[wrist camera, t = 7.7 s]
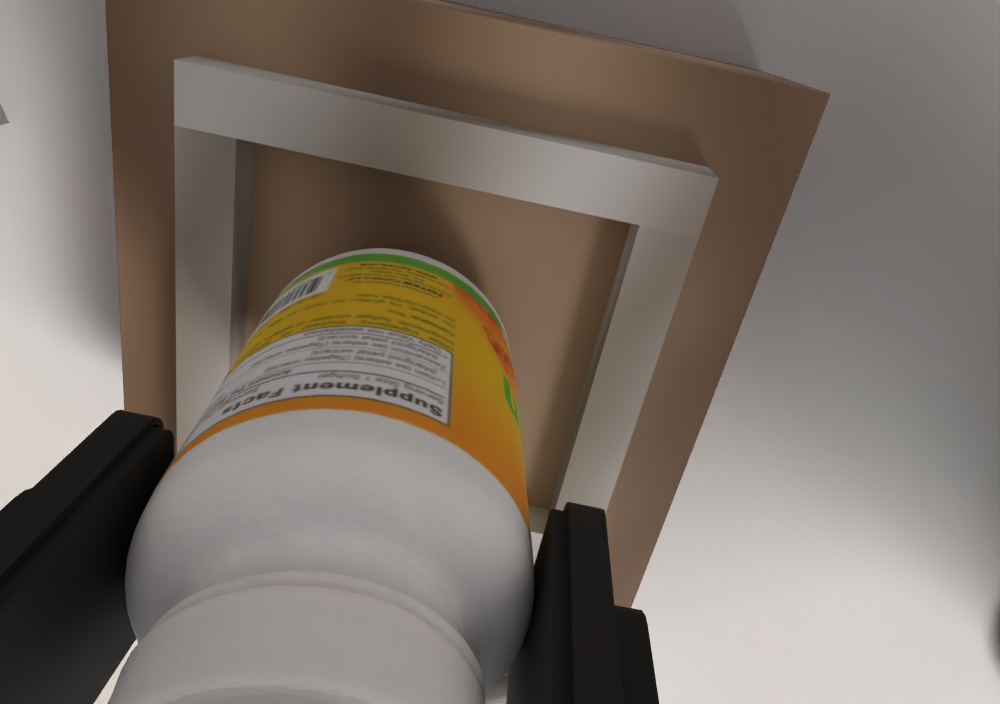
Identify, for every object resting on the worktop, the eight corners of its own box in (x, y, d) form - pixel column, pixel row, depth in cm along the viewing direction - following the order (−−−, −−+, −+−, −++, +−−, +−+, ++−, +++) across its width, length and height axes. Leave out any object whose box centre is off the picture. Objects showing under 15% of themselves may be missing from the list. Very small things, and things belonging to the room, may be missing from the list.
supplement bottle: (491, 471, 17) (510, 969, 8) (262, 446, 17) (31, 952, 8) (531, 260, 15) (616, 657, 6) (264, 223, 14) (-66, 599, 5)
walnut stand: (761, 70, 18) (850, 100, 13) (614, 501, 24) (632, 642, 19) (216, -51, 18) (69, -74, 12) (208, 418, 24) (108, 539, 19)
